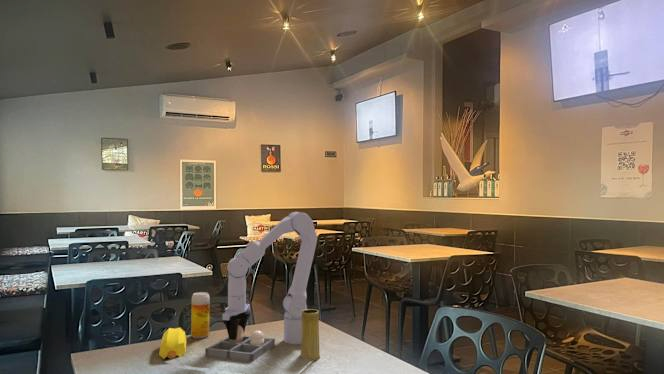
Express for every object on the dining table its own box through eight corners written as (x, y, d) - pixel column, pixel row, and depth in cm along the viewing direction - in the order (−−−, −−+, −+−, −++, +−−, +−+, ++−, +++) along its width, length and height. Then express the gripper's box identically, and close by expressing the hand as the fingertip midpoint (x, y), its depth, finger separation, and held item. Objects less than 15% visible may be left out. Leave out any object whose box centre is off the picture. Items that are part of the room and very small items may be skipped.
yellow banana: (157, 363, 140) (185, 361, 143) (158, 340, 141) (185, 338, 143) (162, 344, 158) (186, 343, 160) (163, 324, 158) (187, 323, 160)
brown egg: (245, 340, 155) (245, 323, 155) (239, 345, 151) (239, 327, 151) (233, 339, 157) (233, 322, 157) (226, 343, 153) (227, 326, 153)
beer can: (204, 339, 163) (204, 295, 163) (187, 338, 164) (188, 295, 164) (212, 334, 169) (212, 292, 169) (196, 333, 170) (196, 291, 170)
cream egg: (266, 346, 153) (266, 329, 153) (260, 351, 149) (260, 333, 149) (254, 345, 154) (254, 328, 155) (247, 349, 150) (247, 331, 150)
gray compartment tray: (274, 348, 154) (274, 338, 154) (252, 364, 139) (252, 354, 139) (231, 343, 159) (231, 334, 159) (205, 358, 144) (205, 348, 144)
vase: (323, 356, 146) (324, 310, 147) (312, 362, 141) (312, 314, 141) (307, 353, 150) (308, 307, 150) (296, 358, 145) (296, 311, 145)
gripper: (236, 290, 162) (236, 329, 162) (214, 298, 148) (213, 342, 148) (255, 291, 160) (255, 331, 160) (234, 300, 146) (233, 344, 146)
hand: (236, 337), depth 154 cm, fingers closed on brown egg, 4 cm apart
